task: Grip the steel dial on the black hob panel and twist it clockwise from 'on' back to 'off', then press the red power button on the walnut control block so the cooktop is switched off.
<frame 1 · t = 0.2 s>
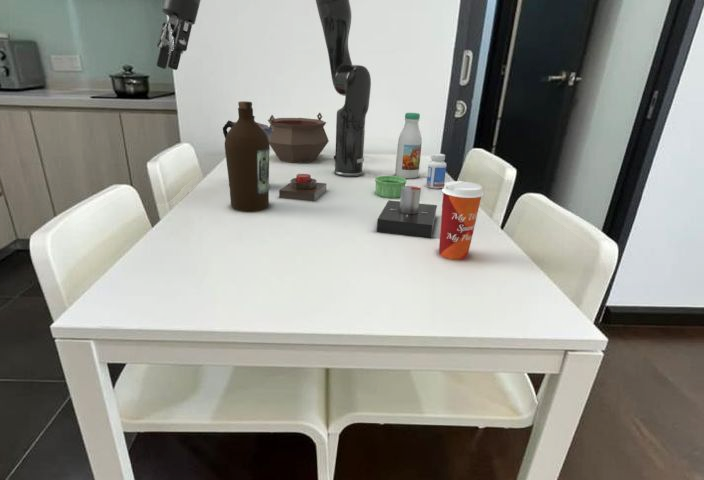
hand: (166, 68, 111), 31 cm above the table, tool tilted 20°, fingers open, 8 cm apart
moka pot: (250, 187, 135), on the table
paper cup: (453, 255, 93), on the table
power button: (303, 178, 128), point 4 cm above the table, slide at 0.1 cm
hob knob: (410, 199, 107), point 6 cm above the table, hinge at 90.0°
pill bottle: (434, 187, 143), on the table
olive oil: (250, 207, 118), on the table
milk bottle: (406, 176, 155), on the table
power block: (303, 194, 130), on the table
hob panel: (407, 223, 109), on the table
ramekin: (389, 195, 133), on the table
saucepan: (296, 159, 175), on the table
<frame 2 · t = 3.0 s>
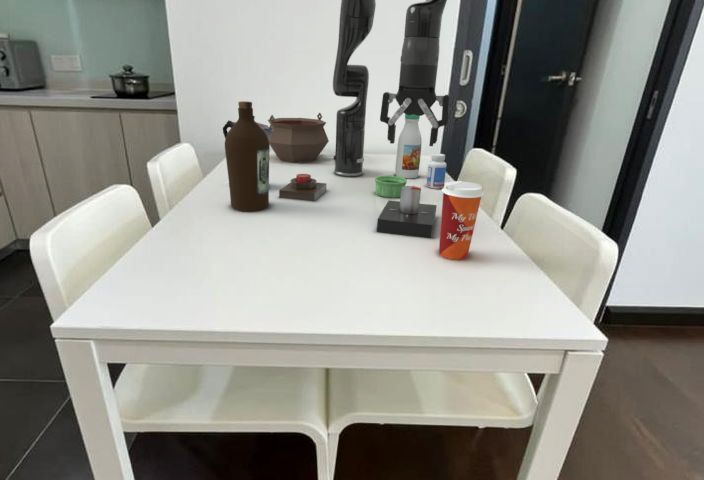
hand: (411, 144, 101), 18 cm above the table, tool pointing down, fingers open, 8 cm apart
nothing on the table moved.
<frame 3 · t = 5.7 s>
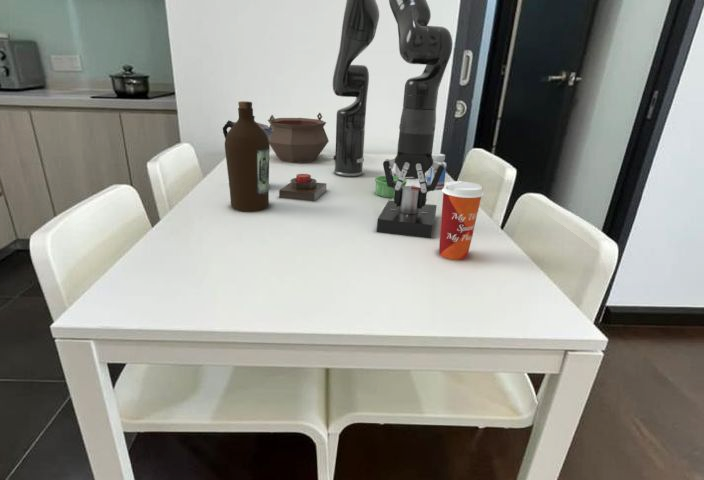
hand: (409, 206, 107), 4 cm above the table, tool pointing down, fingers closed on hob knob, 4 cm apart
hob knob: (410, 199, 107), point 6 cm above the table, hinge at 90.1°, touching gripper
everything else where it was.
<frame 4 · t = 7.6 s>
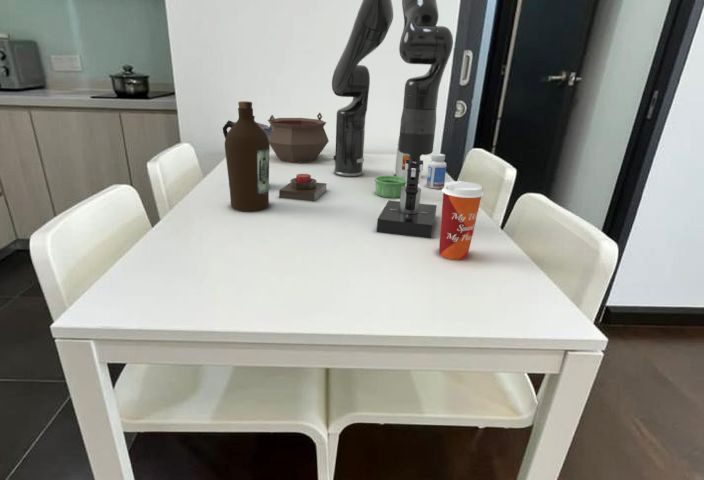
hand: (410, 206, 107), 4 cm above the table, tool pointing down, fingers closed on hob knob, 4 cm apart
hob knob: (410, 199, 107), point 6 cm above the table, hinge at 0.5°, touching gripper
everything else where it was.
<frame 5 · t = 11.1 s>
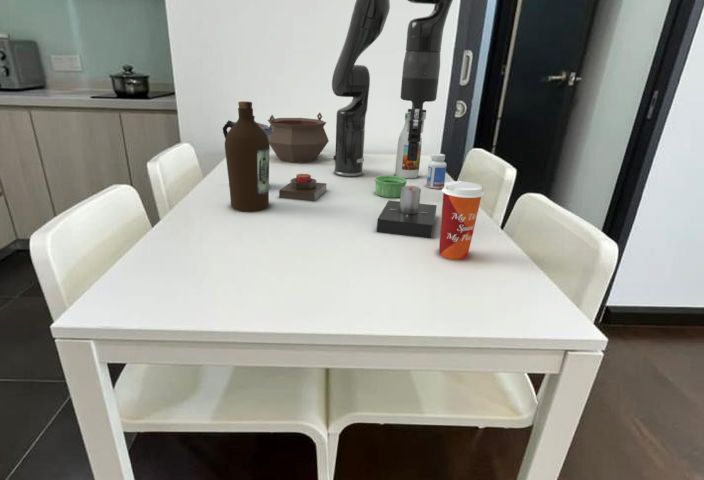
hand: (411, 160, 103), 15 cm above the table, tool pointing down, fingers closed
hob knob: (410, 199, 107), point 6 cm above the table, hinge at 1.1°
everything else where it was.
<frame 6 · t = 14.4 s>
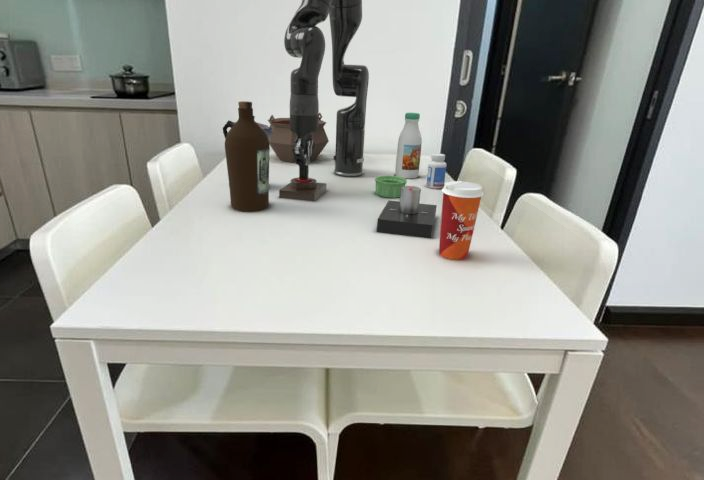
hand: (303, 178, 128), 4 cm above the table, tool pointing down, fingers closed
power button: (303, 181, 128), point 4 cm above the table, slide at -0.8 cm, touching gripper
everything else where it was.
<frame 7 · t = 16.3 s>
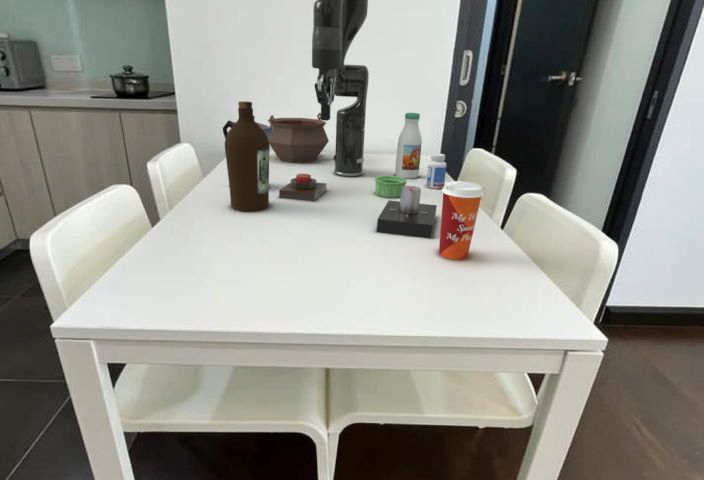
hand: (325, 120, 123), 20 cm above the table, tool pointing down, fingers closed
power button: (303, 178, 128), point 4 cm above the table, slide at 0.1 cm
everything else where it was.
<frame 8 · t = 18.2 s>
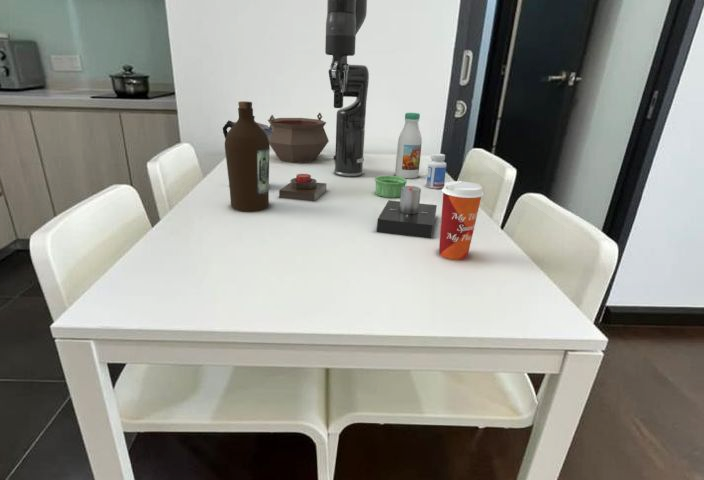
hand: (338, 107, 123), 23 cm above the table, tool pointing down, fingers closed
nothing on the table moved.
at the end: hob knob at +1° (first picture: +90°); power button pushed in 1.1 cm at the most during the clip, back to where it started at the end; power button slide at 0.1 cm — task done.
